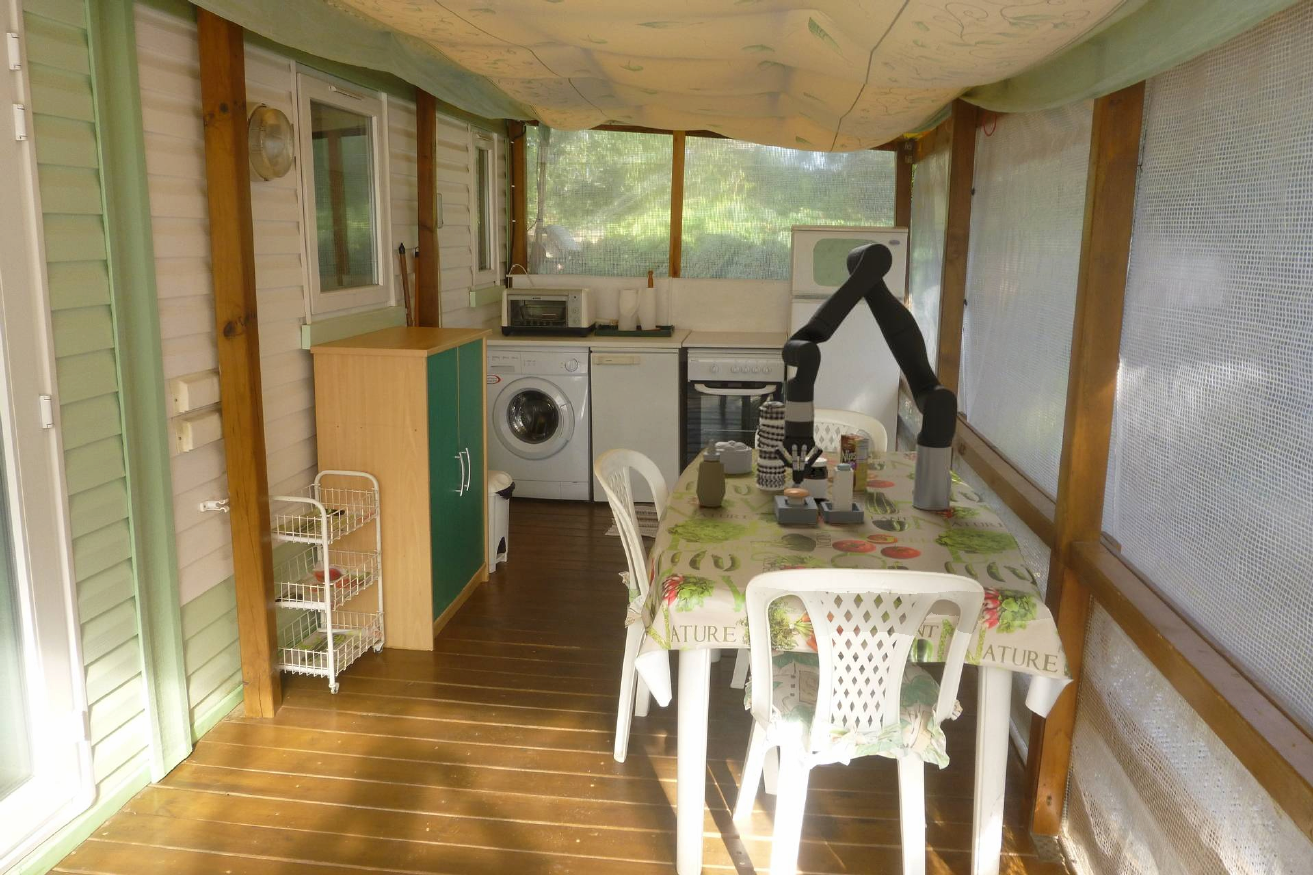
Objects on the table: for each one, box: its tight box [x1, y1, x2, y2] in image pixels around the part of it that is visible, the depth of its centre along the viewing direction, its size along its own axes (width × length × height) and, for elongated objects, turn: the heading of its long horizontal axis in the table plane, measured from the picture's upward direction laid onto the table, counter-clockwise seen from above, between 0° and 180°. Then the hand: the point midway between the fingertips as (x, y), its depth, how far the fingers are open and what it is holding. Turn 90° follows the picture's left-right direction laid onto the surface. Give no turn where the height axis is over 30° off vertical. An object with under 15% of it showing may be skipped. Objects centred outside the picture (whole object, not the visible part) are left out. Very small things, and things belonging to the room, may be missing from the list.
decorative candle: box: [755, 401, 787, 492], centre depth 301 cm, size 9×9×25 cm
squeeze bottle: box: [695, 439, 727, 508], centre depth 281 cm, size 8×8×18 cm
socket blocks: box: [773, 495, 865, 525], centre depth 271 cm, size 22×13×4 cm, turn 88°
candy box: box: [839, 433, 870, 492], centre depth 303 cm, size 9×4×15 cm, turn 23°
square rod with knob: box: [831, 462, 854, 511], centre depth 270 cm, size 4×4×14 cm
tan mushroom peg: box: [783, 488, 809, 505], centre depth 271 cm, size 6×6×6 cm
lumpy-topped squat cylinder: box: [715, 440, 753, 475], centre depth 324 cm, size 10×13×9 cm
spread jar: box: [786, 456, 829, 504], centre depth 289 cm, size 12×11×12 cm
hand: (797, 483), depth 269 cm, fingers closed
